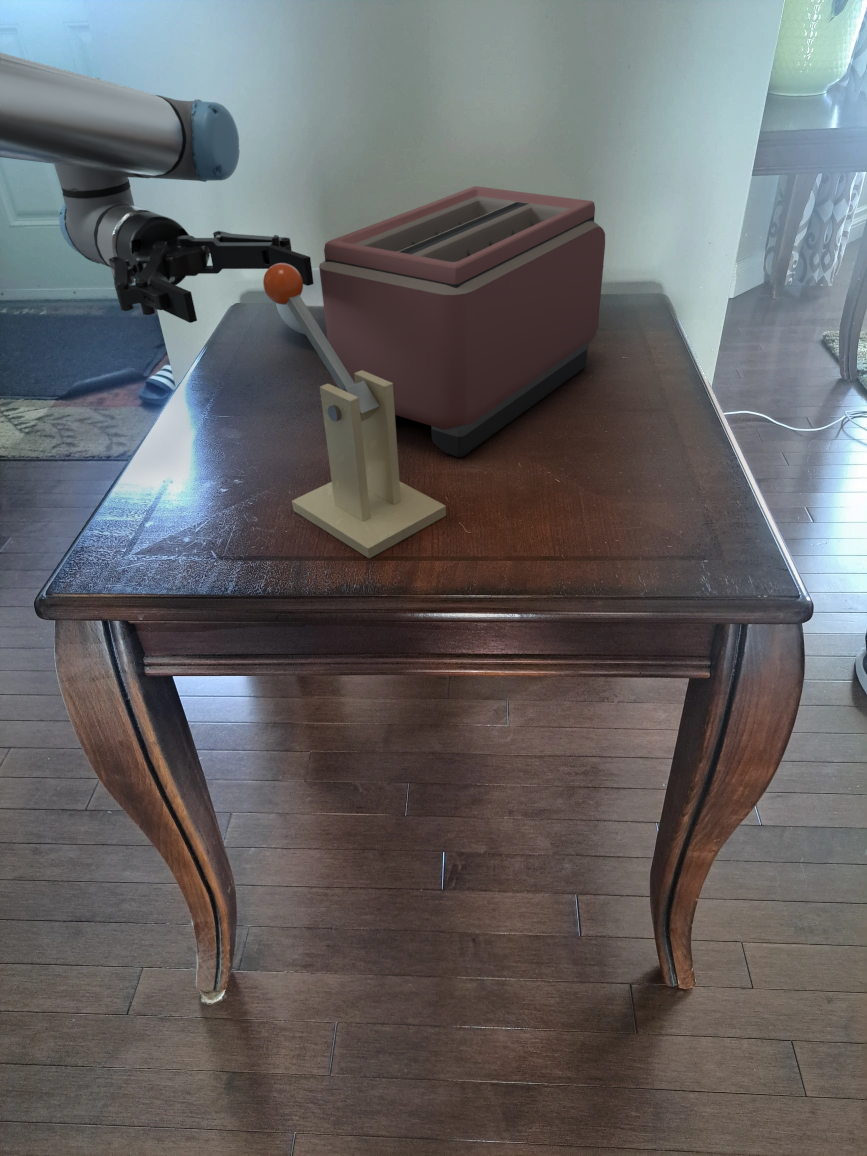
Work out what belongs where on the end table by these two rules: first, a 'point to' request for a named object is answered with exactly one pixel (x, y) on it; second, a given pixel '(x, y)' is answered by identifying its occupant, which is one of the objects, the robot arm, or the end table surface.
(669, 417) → the end table surface
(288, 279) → the lever
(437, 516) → the bracket
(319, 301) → the cereal bowl
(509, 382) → the toaster
